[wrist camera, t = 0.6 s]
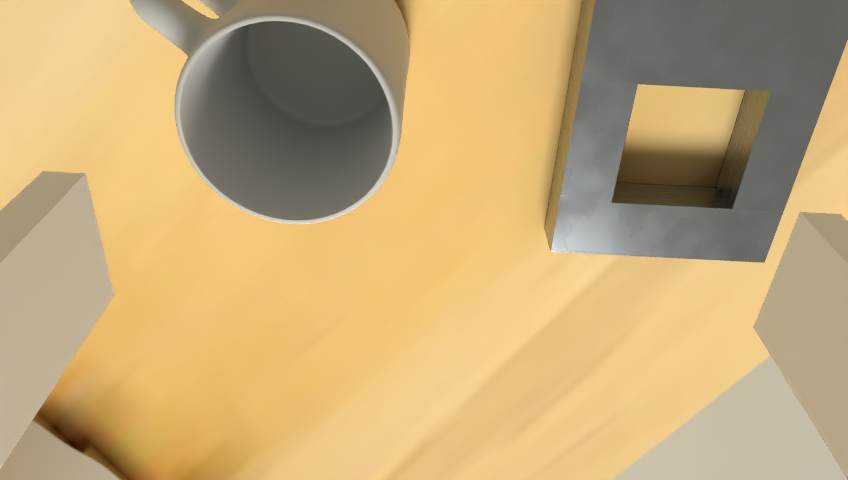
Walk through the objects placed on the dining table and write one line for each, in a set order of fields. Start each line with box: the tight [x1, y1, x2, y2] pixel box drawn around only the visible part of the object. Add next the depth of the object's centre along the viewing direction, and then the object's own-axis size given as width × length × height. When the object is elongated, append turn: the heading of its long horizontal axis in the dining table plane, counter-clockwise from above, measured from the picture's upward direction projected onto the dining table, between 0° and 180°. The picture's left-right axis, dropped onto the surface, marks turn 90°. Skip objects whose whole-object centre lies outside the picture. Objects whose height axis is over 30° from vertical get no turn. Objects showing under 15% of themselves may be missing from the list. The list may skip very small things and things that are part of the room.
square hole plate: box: [545, 0, 848, 262], centre depth 32 cm, size 26×12×2 cm, turn 177°
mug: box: [130, 0, 410, 224], centre depth 29 cm, size 12×8×11 cm
